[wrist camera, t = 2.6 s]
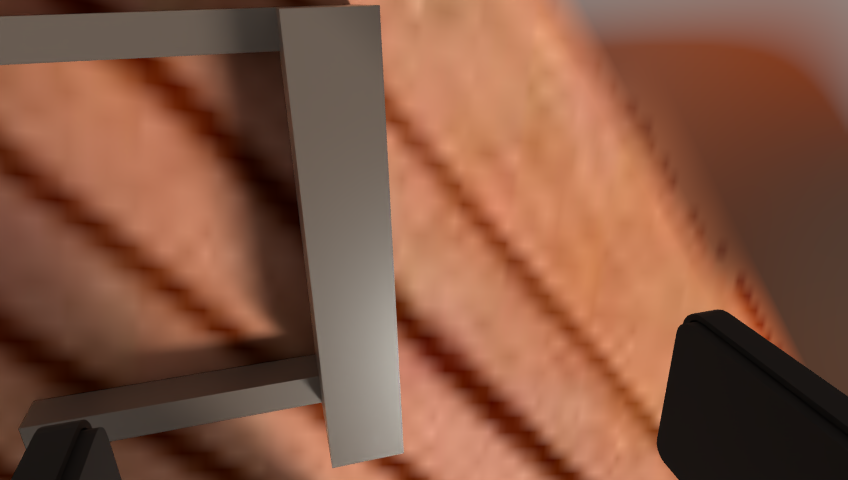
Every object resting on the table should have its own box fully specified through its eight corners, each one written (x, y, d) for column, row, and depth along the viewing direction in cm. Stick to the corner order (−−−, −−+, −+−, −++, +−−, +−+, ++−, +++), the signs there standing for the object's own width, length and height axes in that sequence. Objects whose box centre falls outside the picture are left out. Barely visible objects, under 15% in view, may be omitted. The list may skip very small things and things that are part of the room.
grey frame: (43, 427, 21) (-15, 541, 17) (-101, 19, 16) (-242, 26, 11) (377, 368, 24) (405, 452, 20) (352, 4, 19) (381, 5, 14)
